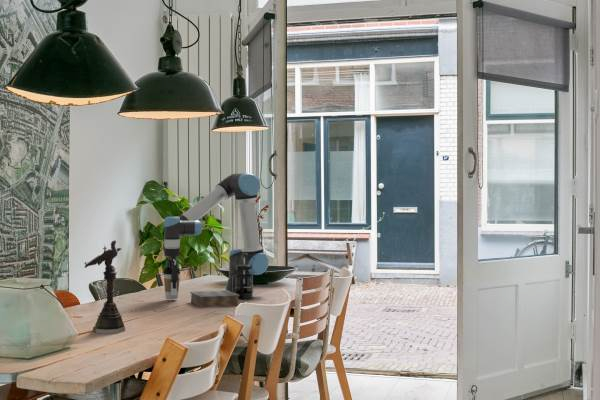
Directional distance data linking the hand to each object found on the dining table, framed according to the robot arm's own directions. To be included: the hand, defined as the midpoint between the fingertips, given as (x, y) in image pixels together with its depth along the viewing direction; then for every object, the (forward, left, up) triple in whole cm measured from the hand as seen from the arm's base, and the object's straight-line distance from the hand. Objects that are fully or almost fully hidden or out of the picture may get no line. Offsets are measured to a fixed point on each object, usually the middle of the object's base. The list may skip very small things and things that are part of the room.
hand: (171, 294), depth 358 cm
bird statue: (+44, +71, -3) cm, 84 cm away
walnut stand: (-17, +17, -3) cm, 24 cm away
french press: (-36, +4, -3) cm, 36 cm away
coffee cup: (0, 0, -2) cm, 2 cm away
